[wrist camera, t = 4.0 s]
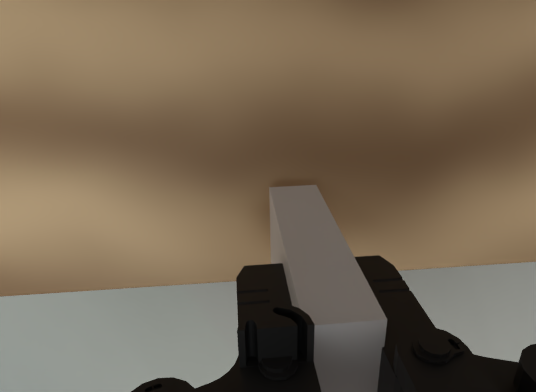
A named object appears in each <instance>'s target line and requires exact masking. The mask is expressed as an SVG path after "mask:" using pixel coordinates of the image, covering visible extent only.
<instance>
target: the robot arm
mask: <svg viewBox="0 0 536 392" xmlns="http://www.w3.org/2000/svg"><path fill="white" fill-rule="evenodd" d="M269 199H270V246H271V264H262V265H247V266H244V267H243V268H242V270H241V271H240V273H239V274H238V276H237V278H236V281H237V304H238V330H237V334H238V350H239V355H238V358H237V360H236V363H235V365H234V366H233V367H232V368H231V369H230V371H229V372H227V373H226V374H225V375H224V376H222V377H221V378H219V379H217V380H215V381H213V382H211V383H209V384H206V385H203V386H201V387H198V388H194V387H192V386H191V385H190V384H189V383H188V382H186V381H183V380H180V379H176V378H157V379H155V380H152V381H149V382H146V383H143V384H142V385H140V386H139V387H137V388H136V389H134V390H133V391H131V392H536V344H533V345H530V346H528V347H526V348H525V349H523V350H522V353H521V356H520V360H519V363H518V362H512V361H506V360H500V359H493V358H487V357H482V356H478V355H474V354H472V352H471V351H470V349H469V348H468V347H467V346H466V345H465V344H464V343H463V342H462V341H461V340H460V339H459V338H457V337H455V336H454V335H452V334H450V333H448V332H447V331H444V330H440V329H437V328H435V326H434V325H433V323H432V322H431V320H430V319H429V317H428V316H427V314H426V313H425V311H424V310H423V308H422V307H421V305H420V304H419V302H418V301H417V299H416V298H415V296H414V295H413V293H412V292H411V291H409V287H408V286H407V284H406V283H405V281H404V280H402V277H401V275H400V274H399V272H398V271H397V269H396V268H395V266H394V265H393V264H391V263H390V262H388V261H387V260H385V259H384V258H382V257H381V256H379V255H375V256H360V257H354V255H353V254H352V252H351V250H350V248H349V246H348V244H347V242H346V240H345V238H344V237H343V235H342V233H341V231H340V229H339V227H338V225H337V223H336V221H335V219H334V218H333V216H332V214H331V212H330V210H329V208H328V206H327V204H326V202H325V201H324V199H323V197H322V195H321V193H320V191H319V189H318V187H317V185H302V186H284V187H269Z"/></svg>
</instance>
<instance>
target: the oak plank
mask: <svg viewBox="0 0 536 392" xmlns="http://www.w3.org/2000/svg"><path fill="white" fill-rule="evenodd" d="M302 185H317V187H318V189H319V191H320V193H321V195H322V197H323V199H324V201H325V202H326V204H327V206H328V208H329V210H330V212H331V214H332V216H333V218H334V219H335V221H336V223H337V225H338V227H339V229H340V231H341V233H342V235H343V237H344V238H345V240H346V242H347V244H348V246H349V248H350V250H351V252H352V254H353V255H354V257H360V256H375V255H379V256H381V257H382V258H384V259H385V260H387V261H388V262H390V263H391V264H393V265H394V266H395V268H396V269H397V271H398V270H414V269H429V268H444V267H460V266H475V265H490V264H506V263H521V262H536V0H0V296H14V295H29V294H45V293H60V292H76V291H91V290H106V289H122V288H137V287H152V286H168V285H183V284H198V283H214V282H229V281H236V278H237V276H238V274H239V273H240V271H241V270H242V268H243V267H244V266H247V265H262V264H271V246H270V199H269V187H284V186H302Z"/></svg>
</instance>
